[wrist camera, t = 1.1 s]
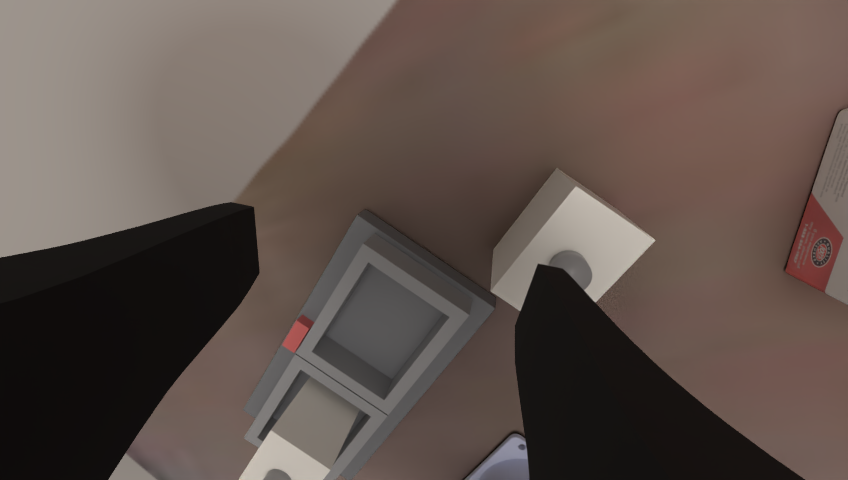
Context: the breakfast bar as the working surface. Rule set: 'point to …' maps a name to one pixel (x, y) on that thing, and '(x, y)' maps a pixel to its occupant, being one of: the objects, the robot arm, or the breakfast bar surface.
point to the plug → (566, 241)
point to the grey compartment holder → (359, 355)
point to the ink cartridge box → (826, 222)
